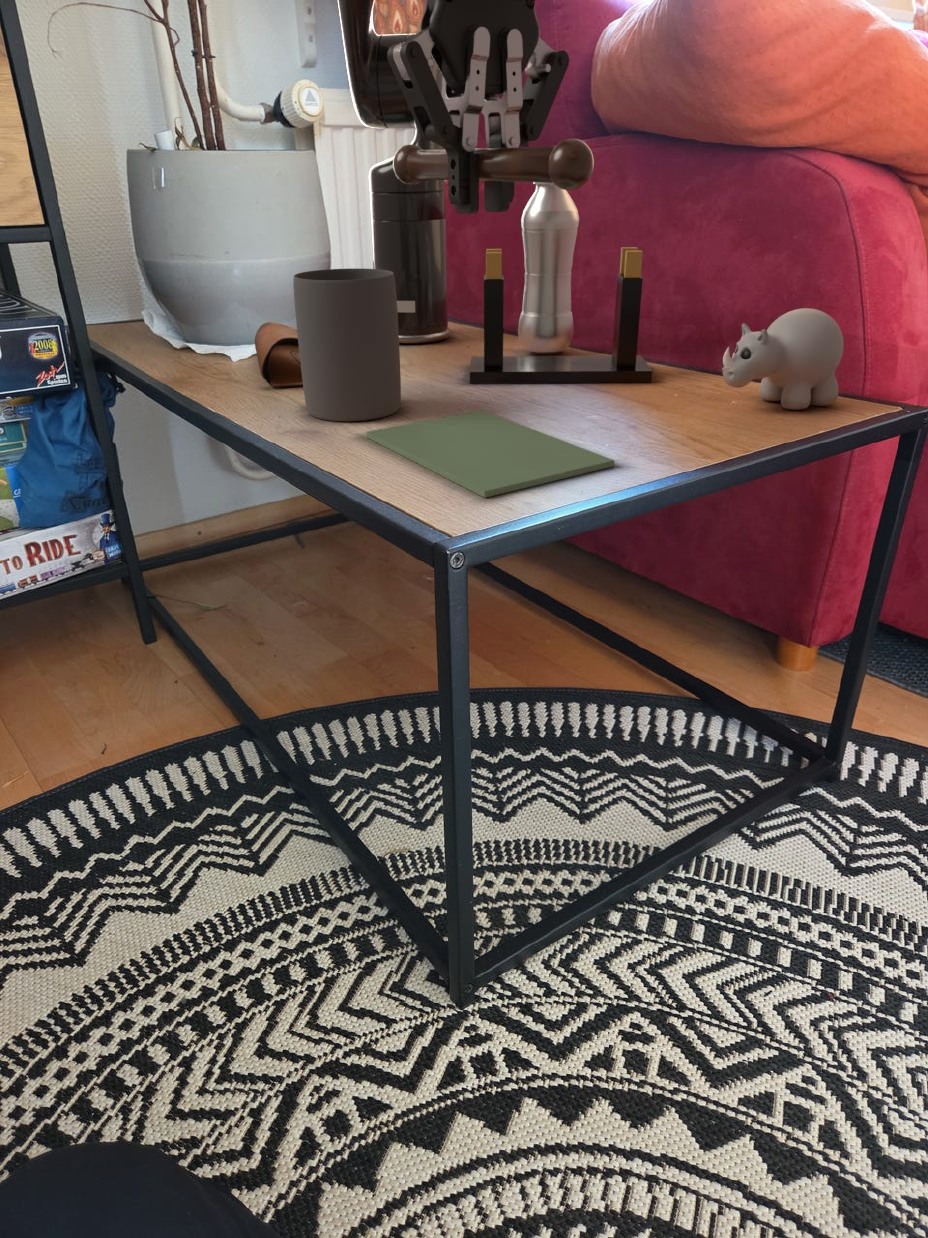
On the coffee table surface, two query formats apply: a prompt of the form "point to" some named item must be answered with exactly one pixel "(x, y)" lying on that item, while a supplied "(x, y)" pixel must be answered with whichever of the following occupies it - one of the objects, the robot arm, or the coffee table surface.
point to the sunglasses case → (279, 355)
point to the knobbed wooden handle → (504, 164)
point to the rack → (564, 368)
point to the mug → (348, 343)
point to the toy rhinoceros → (789, 359)
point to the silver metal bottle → (548, 269)
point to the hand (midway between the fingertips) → (482, 211)
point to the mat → (488, 452)
